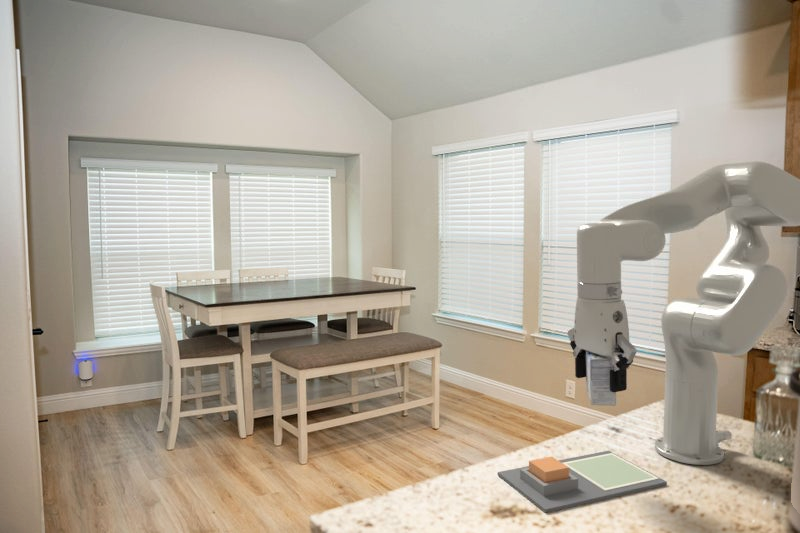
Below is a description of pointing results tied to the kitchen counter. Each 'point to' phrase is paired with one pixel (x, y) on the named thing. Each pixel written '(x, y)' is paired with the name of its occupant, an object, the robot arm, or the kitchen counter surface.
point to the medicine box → (599, 380)
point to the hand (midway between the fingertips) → (600, 383)
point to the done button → (548, 469)
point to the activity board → (583, 481)
